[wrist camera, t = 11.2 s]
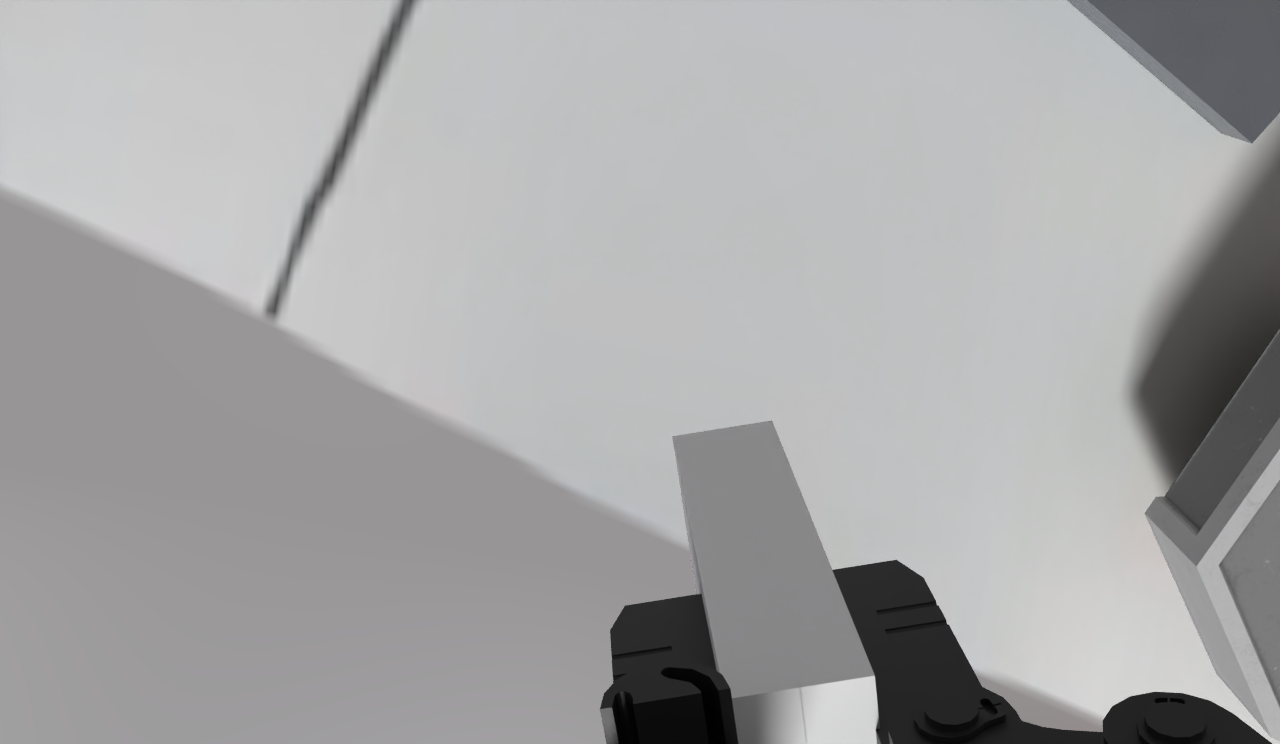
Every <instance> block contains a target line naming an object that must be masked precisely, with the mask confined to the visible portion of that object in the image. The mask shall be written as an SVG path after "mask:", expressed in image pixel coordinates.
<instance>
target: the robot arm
mask: <svg viewBox="0 0 1280 744" xmlns="http://www.w3.org/2000/svg"><path fill="white" fill-rule="evenodd" d="M672 437H673V443H674V450H675V456H676V463H677V470H678V476H679V483H680V489H681V496H682V502H683V509H684V516H685V522H686V529H687V535H688V542H689V548H690V555H691V561H692V568H693V575H694V581H695V588H696V595H690V596H684V597H677V598H671V599H665V600H659V601H653V602H646V603H640V604H634V605H628V606H625V607H624V609H623V610H622V612H621V614H620V615H619V617H618V618H617V620H616V622H615V623H614V625H613V627H612V628H611V630H610V633H611V651H612V669H613V680H614V681H613V684H612V685H611V687H610V688H609V689H608V690H607V691H606V692H605V693H604V696H603V700H602V704H601V708H600V712H601V717H602V722H603V727H604V732H605V737H606V742H607V744H1272V743H1271V742H1269V741H1268V740H1267V739H1265V738H1264V737H1263V736H1261V735H1260V734H1259V733H1258V732H1256V731H1255V730H1254V729H1252V728H1251V727H1250V726H1248V725H1247V724H1246V723H1244V722H1243V721H1242V720H1240V719H1239V718H1238V717H1237V716H1235V715H1234V714H1233V713H1231V712H1229V711H1227V710H1226V709H1224V708H1222V707H1220V706H1218V705H1216V704H1215V703H1213V702H1211V701H1209V700H1205V699H1202V698H1198V697H1194V696H1191V695H1187V694H1183V693H1166V692H1152V693H1147V694H1141V695H1136V696H1131V697H1129V698H1127V699H1125V700H1123V701H1121V702H1120V703H1118V704H1116V705H1114V706H1112V708H1111V709H1110V711H1109V712H1108V714H1107V715H1106V717H1105V718H1104V720H1103V732H1089V731H1072V730H1060V729H1053V728H1046V727H1041V726H1037V725H1033V724H1030V723H1027V722H1023V721H1021V719H1020V718H1019V716H1018V714H1017V712H1016V711H1015V710H1014V709H1013V707H1012V706H1011V705H1010V704H1009V703H1008V702H1007V701H1006V700H1005V699H1004V698H1003V697H1001V696H999V695H997V694H995V693H993V692H991V691H989V690H987V689H985V688H983V687H982V686H981V684H980V682H979V681H978V678H977V677H976V675H975V673H974V671H973V669H972V667H971V665H970V663H969V662H968V660H967V658H966V656H965V654H964V652H963V650H962V649H961V647H960V645H959V643H958V641H957V639H956V637H955V636H954V634H953V632H952V630H951V628H950V626H949V625H947V623H946V619H945V617H944V615H943V613H942V611H941V610H940V608H939V606H937V604H936V600H935V598H934V597H933V595H932V593H931V591H930V589H929V587H928V585H927V584H926V582H925V580H924V578H923V577H922V576H920V575H918V574H917V573H915V572H914V571H912V570H911V569H909V568H908V567H906V566H905V565H903V564H902V563H900V562H899V561H897V560H893V561H886V562H880V563H874V564H867V565H861V566H855V567H848V568H842V569H836V570H832V568H831V566H830V563H829V561H828V558H827V556H826V554H825V551H824V549H823V546H822V544H821V541H820V539H819V536H818V534H817V531H816V529H815V526H814V524H813V521H812V519H811V516H810V514H809V511H808V509H807V506H806V504H805V502H804V499H803V497H802V494H801V492H800V489H799V487H798V484H797V482H796V479H795V477H794V474H793V472H792V469H791V467H790V464H789V462H788V459H787V457H786V455H785V452H784V450H783V447H782V445H781V442H780V440H779V437H778V435H777V432H776V430H775V427H774V425H773V422H772V421H767V422H761V423H754V424H748V425H742V426H735V427H729V428H723V429H716V430H710V431H704V432H698V433H691V434H685V435H679V436H672Z"/></svg>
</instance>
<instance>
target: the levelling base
mask: <svg viewBox="0 0 1280 744" xmlns="http://www.w3.org/2000/svg"><path fill="white" fill-rule="evenodd" d="M1068 1H1069V2H1070V3H1071V4H1072V5H1073V6H1075V7H1076V8H1077V9H1078V10H1079V11H1080V12H1082V13H1083V14H1084V15H1085V16H1086V17H1087V18H1088V19H1090V20H1091V21H1092V22H1093V23H1094V24H1095V25H1097V26H1098V27H1099V28H1100V29H1101V30H1102V31H1104V32H1105V33H1106V34H1107V35H1108V36H1109V37H1111V38H1112V39H1113V40H1114V41H1115V42H1116V43H1117V44H1119V45H1120V46H1121V47H1122V48H1123V49H1124V50H1126V51H1127V52H1128V53H1129V54H1130V55H1131V56H1133V57H1134V58H1135V59H1136V60H1137V61H1138V62H1139V63H1141V64H1142V65H1143V66H1144V67H1145V68H1146V69H1148V70H1149V71H1150V72H1151V73H1152V74H1153V75H1155V76H1156V77H1157V78H1158V79H1159V80H1160V81H1161V82H1163V83H1164V84H1165V85H1166V86H1167V87H1168V88H1170V89H1171V90H1172V91H1173V92H1174V93H1175V94H1177V95H1178V96H1179V97H1180V98H1181V99H1182V100H1183V101H1185V102H1186V103H1187V104H1188V105H1189V106H1190V107H1192V108H1193V109H1194V110H1195V111H1196V112H1197V113H1199V114H1200V115H1201V116H1202V117H1203V118H1204V119H1206V120H1207V121H1208V122H1209V123H1210V124H1211V125H1212V126H1214V127H1215V128H1216V129H1217V130H1218V131H1219V132H1221V133H1222V134H1225V135H1228V136H1231V137H1234V138H1237V139H1240V140H1243V141H1246V142H1249V143H1253V142H1254V141H1255V140H1256V138H1257V137H1258V136H1259V135H1260V134H1261V133H1262V132H1263V131H1264V129H1265V128H1266V127H1267V126H1268V125H1269V124H1270V123H1271V122H1272V120H1273V119H1274V118H1275V117H1276V116H1277V115H1278V114H1279V112H1280V0H1068Z"/></svg>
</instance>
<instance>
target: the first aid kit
mask: <svg viewBox="0 0 1280 744" xmlns="http://www.w3.org/2000/svg"><path fill="white" fill-rule="evenodd" d="M1145 515H1146V517H1147V520H1148V522H1149V524H1150V526H1151V528H1152V531H1153V533H1154V535H1155V537H1156V540H1157V542H1158V544H1159V546H1160V549H1161V551H1162V553H1163V555H1164V558H1165V560H1166V562H1167V564H1168V566H1169V569H1170V571H1171V573H1172V575H1173V578H1174V580H1175V582H1176V584H1177V587H1178V589H1179V591H1180V593H1181V596H1182V598H1183V600H1184V602H1185V604H1186V607H1187V609H1188V611H1189V613H1190V616H1191V618H1192V620H1193V622H1194V625H1195V627H1196V629H1197V631H1198V633H1199V636H1200V638H1201V640H1202V642H1203V645H1204V647H1205V649H1206V651H1207V654H1208V656H1209V658H1210V660H1211V663H1212V665H1213V667H1214V669H1215V671H1216V674H1217V675H1218V676H1219V677H1220V678H1221V680H1222V681H1223V682H1224V683H1225V684H1226V685H1227V687H1228V688H1229V689H1230V690H1231V691H1232V692H1233V694H1234V695H1235V696H1236V697H1237V698H1238V699H1239V701H1240V702H1241V703H1242V704H1243V705H1244V706H1245V708H1246V709H1247V710H1248V711H1249V712H1250V713H1251V715H1252V716H1253V717H1254V718H1255V719H1256V720H1257V722H1258V723H1259V724H1260V725H1261V726H1262V727H1263V729H1264V730H1265V731H1266V732H1267V733H1268V734H1269V735H1270V737H1271V738H1274V739H1276V740H1278V741H1280V329H1279V330H1278V332H1277V333H1276V335H1275V336H1274V338H1273V339H1272V341H1271V342H1270V344H1269V345H1268V346H1267V348H1266V349H1265V351H1264V352H1263V354H1262V355H1261V357H1260V358H1259V360H1258V361H1257V363H1256V364H1255V365H1254V367H1253V368H1252V370H1251V371H1250V373H1249V374H1248V376H1247V377H1246V379H1245V380H1244V381H1243V383H1242V384H1241V386H1240V387H1239V389H1238V390H1237V392H1236V393H1235V395H1234V396H1233V397H1232V399H1231V400H1230V402H1229V403H1228V405H1227V406H1226V408H1225V409H1224V411H1223V412H1222V414H1221V415H1220V416H1219V418H1218V419H1217V421H1216V422H1215V424H1214V425H1213V427H1212V428H1211V430H1210V431H1209V432H1208V434H1207V435H1206V437H1205V438H1204V440H1203V441H1202V443H1201V444H1200V446H1199V447H1198V448H1197V450H1196V451H1195V453H1194V454H1193V456H1192V457H1191V459H1190V460H1189V462H1188V463H1187V465H1186V466H1185V467H1184V469H1183V470H1182V472H1181V473H1180V475H1179V476H1178V478H1177V479H1176V481H1175V482H1174V483H1173V485H1172V486H1171V488H1170V489H1169V491H1168V492H1167V494H1166V495H1165V497H1156V498H1155V499H1154V501H1153V502H1152V504H1151V505H1150V506H1149V508H1148V509H1147V511H1146V512H1145Z"/></svg>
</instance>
